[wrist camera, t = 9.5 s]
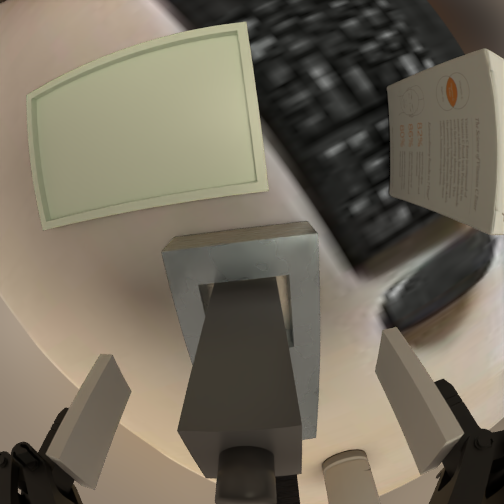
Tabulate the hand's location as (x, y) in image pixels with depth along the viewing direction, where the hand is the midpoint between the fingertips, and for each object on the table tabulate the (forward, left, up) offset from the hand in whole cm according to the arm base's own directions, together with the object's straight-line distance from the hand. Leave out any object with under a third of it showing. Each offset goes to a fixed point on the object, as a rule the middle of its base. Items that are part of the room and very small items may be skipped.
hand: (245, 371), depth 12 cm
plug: (0, 0, -7) cm, 8 cm away
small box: (-10, +14, -9) cm, 19 cm away
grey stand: (+5, 0, -8) cm, 10 cm away
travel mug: (+28, +10, -8) cm, 31 cm away
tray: (-13, -6, -8) cm, 16 cm away
